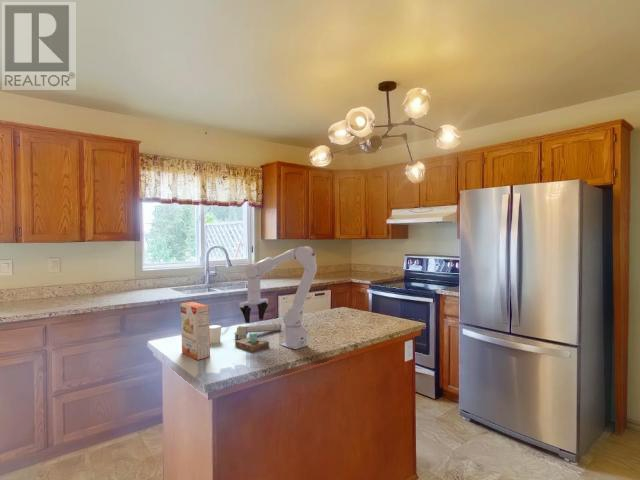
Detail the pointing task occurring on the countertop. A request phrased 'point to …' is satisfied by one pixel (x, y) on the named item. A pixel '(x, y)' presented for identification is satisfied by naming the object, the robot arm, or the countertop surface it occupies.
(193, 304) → the cracker box
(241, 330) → the cream knobbed rod
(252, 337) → the peg
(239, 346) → the socket board
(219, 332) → the white cup
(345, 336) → the countertop surface
